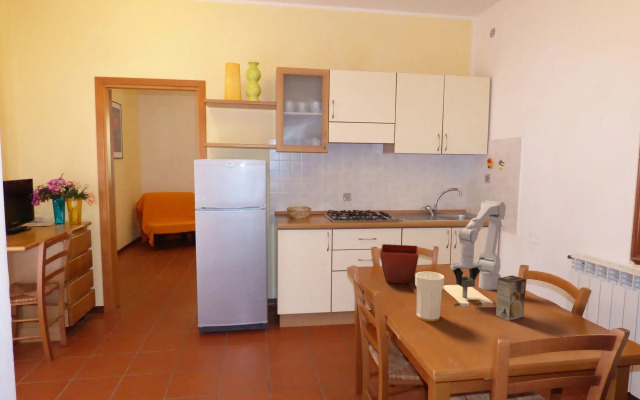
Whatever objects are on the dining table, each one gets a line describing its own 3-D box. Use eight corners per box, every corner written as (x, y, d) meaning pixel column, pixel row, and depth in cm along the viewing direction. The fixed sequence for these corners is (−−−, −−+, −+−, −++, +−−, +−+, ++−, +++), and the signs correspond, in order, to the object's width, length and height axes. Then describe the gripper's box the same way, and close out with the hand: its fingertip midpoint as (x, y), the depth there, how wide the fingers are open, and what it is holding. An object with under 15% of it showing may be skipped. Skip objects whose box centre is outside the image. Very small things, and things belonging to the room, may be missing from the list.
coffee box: (510, 311, 166) (512, 274, 164) (523, 317, 160) (526, 279, 158) (495, 315, 161) (497, 277, 160) (509, 321, 156) (511, 282, 154)
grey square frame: (467, 282, 180) (467, 276, 180) (474, 286, 175) (474, 280, 174) (455, 283, 179) (456, 276, 179) (462, 287, 174) (463, 280, 173)
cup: (438, 325, 151) (440, 281, 150) (409, 318, 157) (411, 276, 155) (445, 315, 161) (447, 274, 159) (418, 309, 167) (420, 269, 165)
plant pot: (379, 284, 200) (379, 251, 198) (381, 273, 218) (382, 243, 216) (417, 287, 196) (418, 254, 194) (416, 275, 214) (417, 245, 212)
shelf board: (469, 287, 195) (469, 275, 195) (493, 306, 171) (494, 291, 171) (439, 288, 194) (440, 275, 193) (460, 306, 170) (461, 292, 170)
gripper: (476, 252, 181) (474, 280, 182) (447, 253, 178) (446, 282, 179) (485, 256, 174) (483, 285, 175) (455, 257, 171) (454, 287, 172)
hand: (465, 284), depth 177 cm, fingers closed on grey square frame, 6 cm apart
